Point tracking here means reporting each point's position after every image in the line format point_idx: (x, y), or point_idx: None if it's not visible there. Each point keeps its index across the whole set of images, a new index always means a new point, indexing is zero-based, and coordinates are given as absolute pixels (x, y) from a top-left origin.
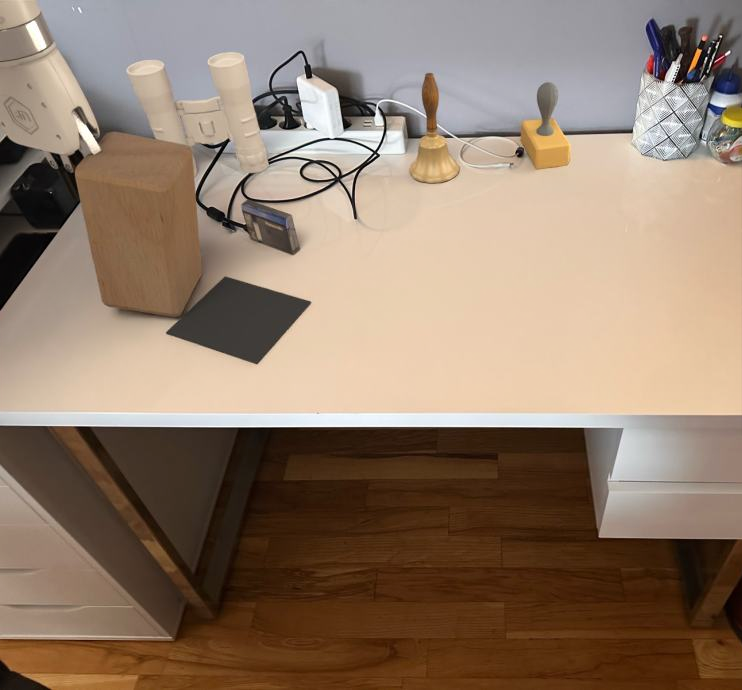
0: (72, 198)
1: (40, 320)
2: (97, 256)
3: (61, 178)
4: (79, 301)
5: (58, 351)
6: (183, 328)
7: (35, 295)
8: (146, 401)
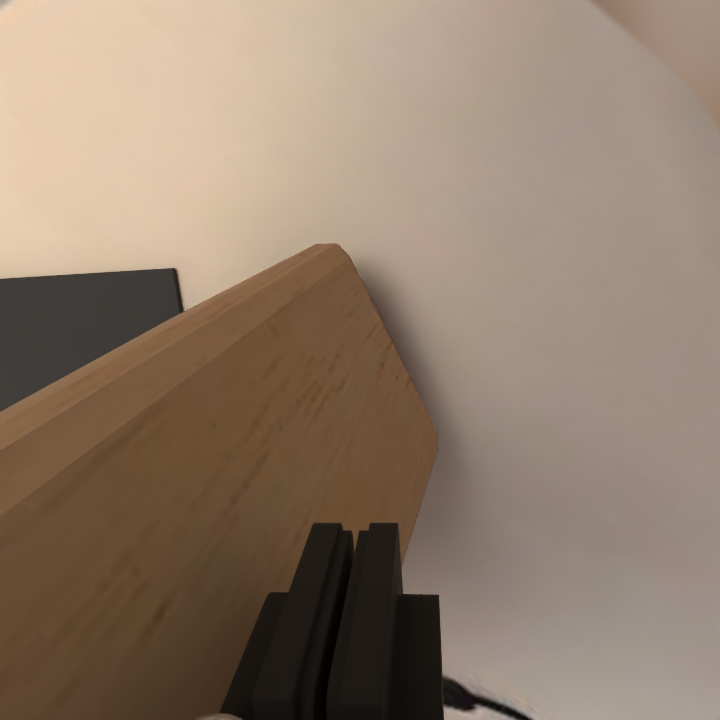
0: (380, 523)
1: (567, 134)
2: (211, 304)
3: (372, 636)
4: (517, 258)
5: (394, 60)
6: (143, 300)
7: (686, 215)
8: (16, 46)
